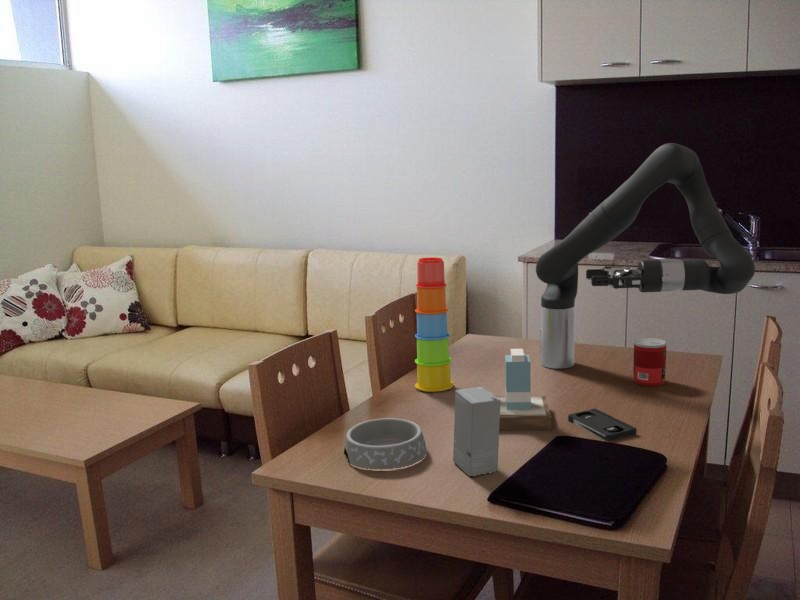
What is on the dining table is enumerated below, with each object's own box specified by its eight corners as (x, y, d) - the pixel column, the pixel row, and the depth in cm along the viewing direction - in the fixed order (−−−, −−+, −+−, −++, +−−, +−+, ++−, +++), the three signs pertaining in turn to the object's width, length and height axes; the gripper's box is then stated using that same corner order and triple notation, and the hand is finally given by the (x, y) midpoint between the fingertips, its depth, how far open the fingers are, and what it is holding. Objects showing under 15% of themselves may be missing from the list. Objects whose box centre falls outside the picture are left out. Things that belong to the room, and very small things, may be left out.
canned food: (669, 386, 197) (670, 345, 194) (637, 387, 197) (638, 346, 195) (659, 376, 204) (661, 337, 202) (629, 377, 205) (630, 338, 202)
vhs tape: (567, 422, 177) (567, 414, 177) (595, 416, 180) (595, 408, 180) (607, 444, 164) (607, 435, 164) (636, 436, 167) (636, 428, 167)
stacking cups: (407, 387, 205) (401, 260, 197) (434, 378, 211) (430, 254, 204) (433, 396, 197) (429, 264, 190) (461, 386, 204) (457, 258, 196)
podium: (487, 408, 187) (487, 395, 186) (545, 407, 186) (545, 394, 185) (488, 430, 173) (488, 416, 173) (551, 429, 172) (551, 416, 171)
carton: (505, 401, 182) (504, 348, 179) (529, 401, 181) (528, 348, 179) (506, 409, 176) (505, 355, 174) (531, 409, 176) (530, 355, 173)
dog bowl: (355, 478, 153) (354, 453, 152) (337, 444, 170) (336, 421, 169) (436, 465, 157) (435, 441, 156) (410, 433, 174) (410, 411, 173)
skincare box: (452, 462, 157) (450, 389, 154) (483, 456, 160) (481, 384, 156) (470, 479, 150) (468, 402, 146) (502, 472, 152) (501, 396, 149)
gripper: (653, 254, 182) (584, 256, 184) (668, 265, 168) (593, 267, 170) (653, 285, 184) (584, 287, 185) (667, 298, 170) (593, 300, 171)
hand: (588, 277), depth 177 cm, fingers open, 8 cm apart
